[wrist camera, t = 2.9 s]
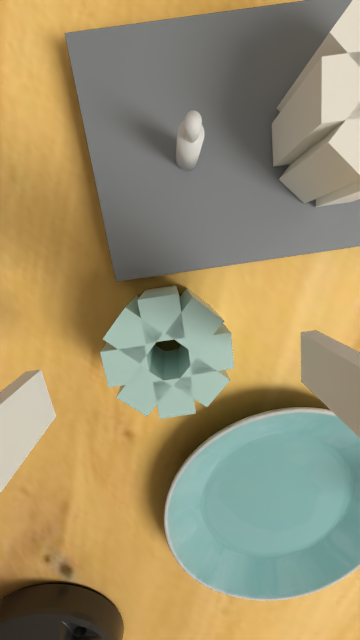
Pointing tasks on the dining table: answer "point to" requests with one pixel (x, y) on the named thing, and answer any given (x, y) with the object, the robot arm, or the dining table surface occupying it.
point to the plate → (269, 506)
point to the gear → (324, 120)
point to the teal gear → (167, 353)
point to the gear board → (201, 138)
